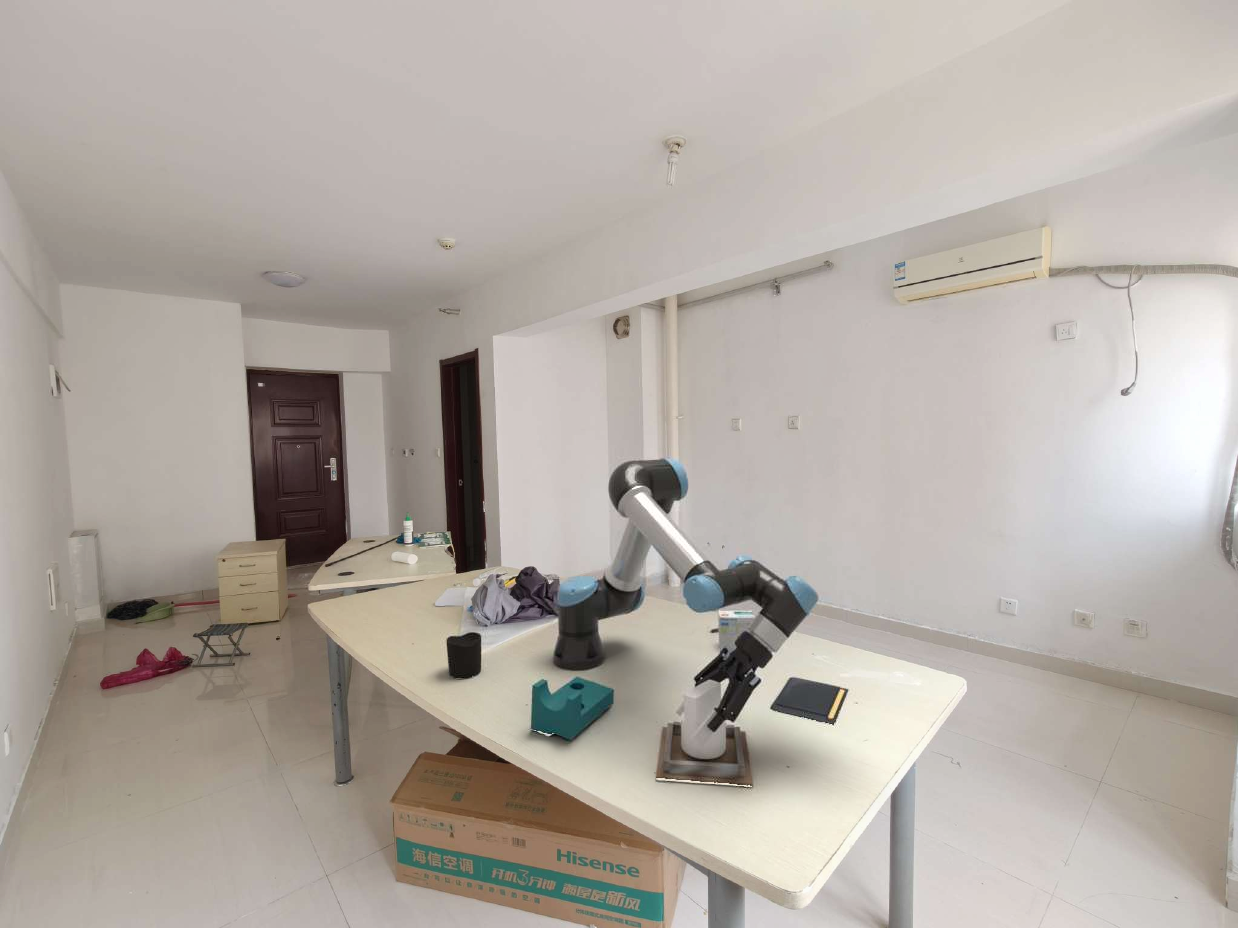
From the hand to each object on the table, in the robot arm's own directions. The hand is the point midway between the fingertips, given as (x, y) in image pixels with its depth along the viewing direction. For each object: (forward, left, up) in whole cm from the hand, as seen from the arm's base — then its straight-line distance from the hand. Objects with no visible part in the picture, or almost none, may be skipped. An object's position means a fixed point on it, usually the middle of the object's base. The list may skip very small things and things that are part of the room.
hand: (688, 727), depth 112 cm
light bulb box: (+13, +59, -7) cm, 61 cm away
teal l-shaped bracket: (-27, +13, -7) cm, 31 cm away
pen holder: (-63, +34, -7) cm, 72 cm away
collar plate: (+3, +1, -6) cm, 7 cm away
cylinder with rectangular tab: (+3, +1, -5) cm, 6 cm away
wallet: (+29, +28, -7) cm, 41 cm away
